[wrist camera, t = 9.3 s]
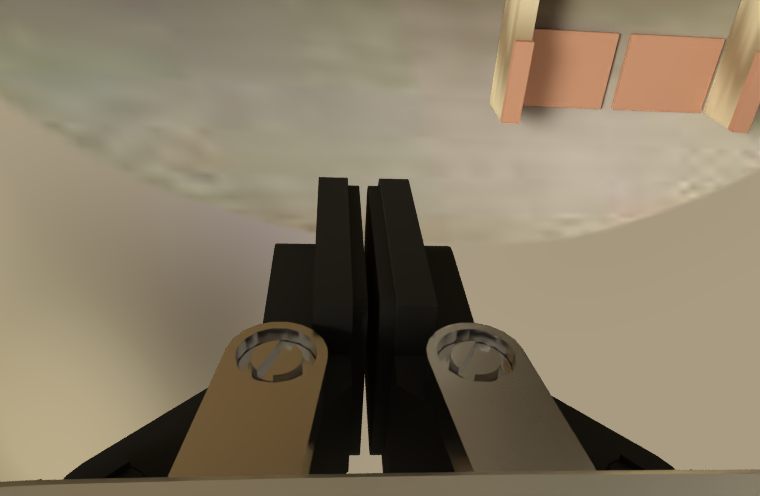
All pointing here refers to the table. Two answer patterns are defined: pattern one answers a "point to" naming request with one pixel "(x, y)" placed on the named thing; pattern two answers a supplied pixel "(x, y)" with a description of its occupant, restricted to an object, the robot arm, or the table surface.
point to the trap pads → (637, 79)
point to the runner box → (748, 35)
